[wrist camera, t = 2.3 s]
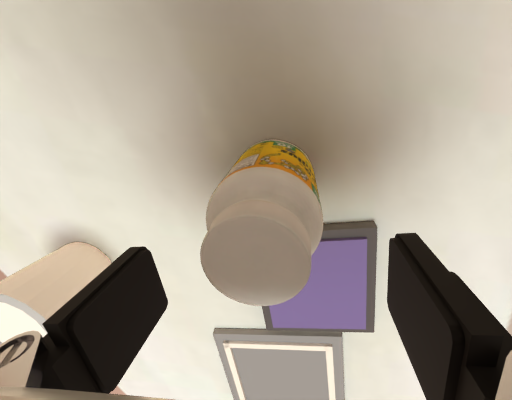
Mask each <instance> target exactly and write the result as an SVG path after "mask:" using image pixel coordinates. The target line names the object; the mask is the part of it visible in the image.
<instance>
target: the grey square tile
mask: <svg viewBox="0 0 512 400" xmlns="http://www.w3.org/2000/svg"><path fill="white" fill-rule="evenodd" d="M213 336H214V339H215V342H216V345H217V348H218V351H219V354H220V358H221V361H222V364H223V367H224V370H225V373H226V376H227V379H228V383H229V386H230V389H231V392H232V395H233V398H234V400H345V398H344V372H343V346H342V333H341V332H327V331H278V330H267V329H221V328H215V329H214V332H213Z"/></svg>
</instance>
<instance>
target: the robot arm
mask: <svg viewBox="0 0 512 400" xmlns="http://www.w3.org/2000/svg"><path fill="white" fill-rule="evenodd" d="M387 303H388V308H389V311H390V313H391V316H392V318H393V321H394V323H395V325H396V328H397V330H398V333H399V335H400V337H401V340H402V342H403V345H404V347H405V349H406V352H407V354H408V356H409V359H410V361H411V364H412V366H413V368H414V371H415V373H416V376H417V378H418V380H419V383H420V385H421V388H422V390H423V392H424V395H425V397H426V400H512V336H511V335H510V334H509V333H508V331H507V330H506V329H505V328H504V327H503V326H502V325H501V324H500V322H499V321H498V320H497V319H496V318H495V317H494V316H493V315H492V313H491V312H490V311H489V310H488V309H487V308H486V307H485V306H484V304H483V303H482V302H481V301H480V300H479V299H478V298H477V297H476V295H475V294H474V293H473V292H472V291H471V290H470V289H469V288H468V286H467V285H466V284H465V283H464V282H463V281H462V280H461V279H460V277H459V276H458V275H456V274H455V273H453V272H449V271H448V270H447V269H446V267H445V266H444V265H443V264H442V263H441V262H440V260H439V259H438V258H437V257H436V256H435V255H434V253H433V252H432V251H431V250H430V249H429V248H428V246H427V245H426V244H425V243H424V242H423V241H422V239H421V238H420V237H419V236H418V235H417V234H416V233H404V234H396V236H395V238H391V239H390V242H389V266H388V292H387ZM167 305H168V300H167V297H166V294H165V291H164V288H163V285H162V283H161V280H160V277H159V274H158V271H157V268H156V266H155V263H154V260H153V257H152V254H151V252H150V251H149V250H147V248H146V247H130V248H129V249H128V250H126V251H125V252H124V253H123V254H122V255H121V256H119V257H118V258H117V259H116V260H115V261H114V262H113V263H111V264H110V265H109V266H108V267H107V268H106V269H105V270H103V271H102V272H101V273H100V274H99V275H98V276H97V277H95V278H94V279H93V280H92V281H91V282H90V283H88V284H87V285H86V286H85V287H84V288H83V289H82V290H80V291H79V292H78V293H77V294H76V295H75V296H74V297H72V298H71V299H70V300H69V301H68V302H67V303H66V304H64V305H63V306H62V307H61V308H60V309H59V310H58V311H56V312H55V313H54V314H53V315H52V316H51V317H49V318H48V319H47V320H46V321H45V322H44V323H43V324H42V325H43V326H44V328H45V330H46V331H47V334H46V335H45V336H44V337H42V335H41V334H40V333H39V332H38V331H28V332H24V333H21V334H19V335H16V336H14V337H12V338H10V339H8V340H7V341H5V342H4V343H2V344H0V400H174V399H163V398H152V397H141V396H130V395H118V394H109V393H110V392H111V391H113V390H114V389H115V388H116V386H117V385H118V383H119V382H120V380H121V379H122V377H123V375H124V374H125V372H126V371H127V369H128V368H129V366H130V365H131V363H132V361H133V360H134V358H135V357H136V355H137V354H138V352H139V350H140V349H141V347H142V346H143V344H144V343H145V341H146V340H147V338H148V336H149V335H150V333H151V332H152V330H153V329H154V327H155V325H156V324H157V322H158V321H159V319H160V318H161V316H162V315H163V313H164V311H165V310H166V308H167Z"/></svg>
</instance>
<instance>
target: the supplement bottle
mask: <svg viewBox="0 0 512 400" xmlns="http://www.w3.org/2000/svg"><path fill="white" fill-rule="evenodd" d="M206 225H207V230H208V232H207V234H206V236H205V238H204V240H203V243H202V246H201V252H200V256H201V264H202V267H203V270H204V272H205V274H206V276H207V278H208V279H209V281H210V282H211V283H212V285H213V286H214V287H215V288H216V289H217V290H219V291H220V292H221V293H223V294H224V295H225V296H227V297H229V298H231V299H233V300H235V301H238V302H241V303H244V304H248V305H254V306H269V305H276V304H280V303H283V302H285V301H287V300H289V299H291V298H293V297H294V296H296V295H297V294H298V293H299V292H300V291H301V290H302V289H303V288H304V286H305V285H306V283H307V281H308V279H309V276H310V272H311V256H312V254H313V253H314V251H315V250H316V248H317V247H318V245H319V242H320V240H321V236H322V232H323V214H322V209H321V204H320V200H319V195H318V190H317V185H316V180H315V175H314V170H313V167H312V164H311V162H310V160H309V158H308V157H307V155H306V154H305V153H304V152H303V151H302V150H301V149H300V148H298V147H297V146H295V145H293V144H291V143H288V142H285V141H282V140H275V139H271V140H264V141H261V142H258V143H256V144H254V145H252V146H251V147H250V148H248V149H247V150H246V151H245V152H244V153H243V155H242V156H241V157H240V158H239V160H238V161H237V162H236V163H235V165H234V166H233V167H232V169H231V170H230V171H229V172H228V174H227V175H226V176H225V178H224V179H223V180H222V181H221V183H220V184H219V185H218V187H217V188H216V190H215V191H214V193H213V194H212V196H211V198H210V201H209V203H208V207H207V212H206Z"/></svg>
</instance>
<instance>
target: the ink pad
mask: <svg viewBox="0 0 512 400" xmlns="http://www.w3.org/2000/svg"><path fill="white" fill-rule="evenodd" d="M376 252H377V226H376V224H375V223H374V221H366V222H351V223H335V224H323V232H322V236H321V240H320V242H319V245H318V247H317V248H316V250H315V251H314V253H313V254H312V256H311V272H310V276H309V279H308V281H307V283H306V285H305V286H304V288H303V289H302V290H301V291H300V292H299V293H298V294H297V295H296V296H294V297H293V298H291V299H289V300H287V301H285V302H283V303H280V304H276V305H269V306H262V309H263V314H264V319H265V324H266V329H267V330H278V331H327V332H374V317H375V285H376Z"/></svg>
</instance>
